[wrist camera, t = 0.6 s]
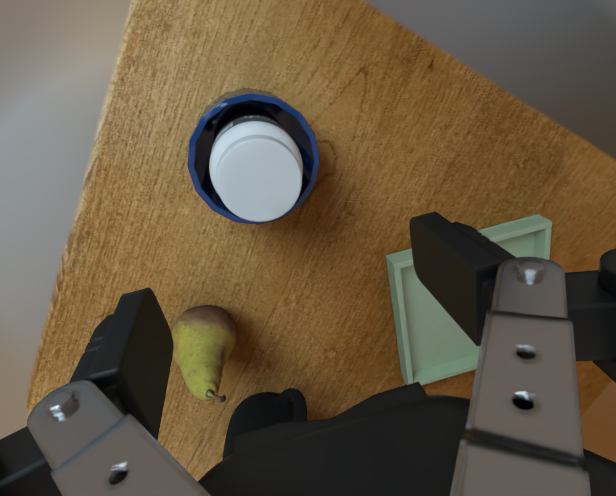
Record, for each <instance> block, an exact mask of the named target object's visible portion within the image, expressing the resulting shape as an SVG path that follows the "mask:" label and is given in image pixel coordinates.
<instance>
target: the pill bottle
mask: <svg viewBox="0 0 616 496" xmlns="http://www.w3.org/2000/svg"><path fill="white" fill-rule="evenodd" d="M209 171H210V177H211V181H212V184H213V186H214V188H215V190H216V192H217V193H218V195H219V196H220V198H221V200H222V201H223V203H224V204H225V206H226V207H227V208H228V209H229V210H230V211H231V212H232V213H234V214H235V215H237V216H238V217H240V218H242V219H245V220H248V221H254V222H265V221H270V220H274V219H276V218H279V217H280V216H282V215H284V214H285V213H286V212H288V211H289V210H290V209H291V208H292V207H293V205H294V204H295V202H296V201H297V199H298V197H299V195H300V191H301V187H302V174H303V164H302V158H301V155H300V152H299V149H298V147H297V145H296V144H295V142H294V141H293V139H292V138H291V137H290V135H289V134H288V133H287V132H286V130H285V129H284V128H283V127H282V125H281V124H280V123H279V122H278V121H277V120H276V119H274V118H273V117H272V116H270V115H268V114H266V113H264V112H260V111H255V110H245V111H240V112H237V113H235V114H233V115H231V116H229V117H228V118H227V119H226V120H224V121H223V123H222V124H221V125H220V126H219V128H218V130H217V132H216V134H215V136H214V140H213V145H212V150H211V155H210V162H209Z"/></svg>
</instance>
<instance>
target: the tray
mask: <svg viewBox="0 0 616 496" xmlns="http://www.w3.org/2000/svg"><path fill="white" fill-rule="evenodd" d="M477 231H478V232H480V233H481V234H482V235H484V236H486V237H487V238H489V239H490V241H493V242H495V243H496V244H497V245H499V246H500V247H502V248H503V249H505V250H506V251H508V252H509V253H511V254H512V255H514V256H515V257H516V258H517V257H538V258H543V259H547V260H549V258H550V244H551V231H552V221H551V220H549V219H547V218H545V217H543V216H541V215H539V214H535V215H532V216H528V217H524V218H521V219H517V220H513V221H510V222H506V223H502V224H499V225H495V226H491V227H488V228H484V229H480V230H477ZM386 261H387V269H388V276H389V284H390V291H391V299H392V306H393V314H394V321H395V329H396V337H397V344H398V352H399V359H400V367H401V374H402V378H403V379H404V381H405V383H406V385H408V384H412V383H415V382H418V381H419V382H420V384H421V385H425V384H428V383H431V382H435V381H438V380H441V379H445V378H448V377H451V376H455V375H458V374H461V373H465V372H468V371H471V370H475V369H476V368H477V362H478V357H479V351H480V346H478V347H477V346H476V345H475V344H474V342H473V341H472V340H471V339H470V338H469V337H468V336H467V334H466V333H465V332H464V331H463V330H462V329H461V328H460V326H459V325H458V324H457V323H456V322H455V321H454V320H453V318H452V317H451V316H450V315H449V314H448V313H447V312H446V310H445V309H444V308H443V307H442V306H441V305H440V304H439V302H438V301H437V300H436V299H435V298H434V297H433V295H432V294H431V293H430V292H429V291H428V290H427V289H426V287H425V286H424V285H423V284H422V283H421V282H420V280H419V279H418V277H417V275H416V272H415V269H414V265H413V256H412V248H411V249H407V250H403V251H400V252H396V253H392V254H389V255H386Z"/></svg>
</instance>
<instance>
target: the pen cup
mask: <svg viewBox="0 0 616 496" xmlns="http://www.w3.org/2000/svg"><path fill="white" fill-rule="evenodd" d="M245 110H255V111H260V112H264V113H266V114H268V115H270V116H272V117H273V118H274V119H276V120H277V121H278V122H279V123H280V124H281V125H282V127H283V128H284V129H285V130H286V132H287V133H288V134H289V135H290V137H291V138H292V139H293V141H294V142H295V144H296V145H297V147H298V149H299V152H300V155H301V158H302V164H303V174H302V187H301V191H300V195H299V197H298V199H297V201H296V202H295V204H294V205H293V207H292V208H291V209H290V210H289V211H288V212H286V213H285V214H284V215H282V216H280V217H279V218H276V219H274V220H270V221H265V222H254V221H248V220H245V219H242V218H240V217H238V216H237V215H235V214H234V213H232V212H231V211H230V210H229V209H228V208H227V207H226V206H225V204H224V203H223V201H222V200H221V198H220V196H219V195H218V193H217V192H216V190H215V188H214V186H213V184H212V181H211V177H210V171H209V162H210V155H211V150H212V145H213V140H214V136H215V134H216V132H217V130H218V128H219V126H220V125H221V124H222V123H223V121H224V120H226V119H227V118H228V117H229V116H231V115H233V114H235V113H237V112H240V111H245ZM319 163H320V157H319V152H318V147H317V142H316V137H315V134H314V132H313V131H312V129H311V128H310V126H309V125H308V123H307V122H306V120H305V119H304V117H303V116H302V114H301V113H300V112H299V111H297V110H296V109H294V108H293V107H292V106H290V105H289V104H287V103H286V102H284V101H283V100H281V99H280V98H278V97H277V96H275V95H274V94H272V93H271V92H267V91H262V90H257V89H251V88H244V89H239V90H234V91H231V92H227V93H225V94H223V95H221V96H220V97H219V98H217V99H216V100H215V101H213V102H212V103H211V104H210V105H208V106H207V107H206V108H205V110H204V112H203V114H202V116H201V118H200V119H199V121H198V123H197V125H196V127H195V129H194V131H193V133H192V136H191V138H190V140H189V153H188V169H189V172H190V175H191V178H192V181H193V184H194V187H195V190H196V192H197V193H198V194H199V195H200V196H201V198H202V199H203V200H204V201H205V202H206V203H207V204H208V206H209V207H210V208H211V209H212V210H213V211H215V212H217V213H219V214H221V215H223V216H225V217H226V218H228V219H230V220H232V221H234V222H240V223H249V224H258V225H259V224H264V223H267V222H271V221H275V220H279V219H282V218H284V217H285V216H287V215H288V214H290V213H291V212H292V211H294V210H295V209H297V208H298V207H299V206H301V205H302V204H303V202H304V201H305V199H306V198H307V196H308V195H309V193H310V192H311V190H312V188H313V187H314V185H315V183H316V178H317V173H318V168H319Z"/></svg>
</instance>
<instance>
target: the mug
mask: <svg viewBox="0 0 616 496" xmlns="http://www.w3.org/2000/svg"><path fill="white" fill-rule="evenodd" d="M291 398H292V399H293V403H292V402H291V401H290V399H291ZM299 421H307V407H306V402H305V398H304V396H303V394H302V393H301V392H300V391H299V390H297V389H294V388H289V389H286V390H284V391H283V392H282V393H281V394H277V393H271V392H265V393H259V394H255V395H253V396H250V397H248V398H247V399H245V400H244V401H243V402H241V403H240V404H239V406H238V407H237V408H236V410H235V411H234V413H233V415H232V417H231V420H230V423H229V426H228V430H227V434H226V439H225V445H224V452H223V460H224V459H225V458H227V457H229V456H230V455H232V454H234V451H233V437H235V436H238V435H241V434H245V433H248V432H251V431H255V430H258V429H261V428H265V427H268V426H271V425H275V424H278V423H286V422H299Z"/></svg>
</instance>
